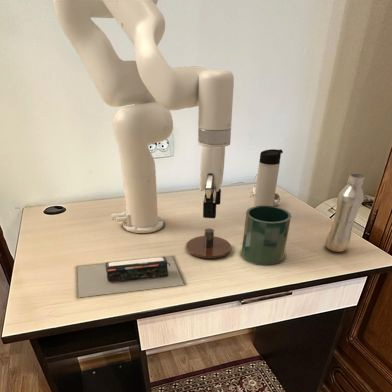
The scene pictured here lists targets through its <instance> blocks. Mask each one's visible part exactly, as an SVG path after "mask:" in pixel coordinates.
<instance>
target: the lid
mask: <svg viewBox="0 0 392 392" xmlns="http://www.w3.org/2000/svg"><path fill="white" fill-rule="evenodd" d="M185 247H186V251H187V252H188V253H189V254H190V255H193V256H195V257H198V258H201V259H202V258H203V259H216V258H217V259H218V258H222V257H224V256H226V255H228V254H229V253H230V252H231V251H232V245H231V243H230V242H229V241H228V240H226V239H224V238H222V237H219V236H215V229H213V228H211V227H210V228H209V227H208V228H205V229H204V234H203V235H201V236H196V237H193V238H191V239H189V240H188V241H187V242H186V244H185Z"/></svg>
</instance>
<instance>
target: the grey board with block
mask: <svg viewBox="0 0 392 392" xmlns="http://www.w3.org/2000/svg"><path fill="white" fill-rule="evenodd" d="M184 285H185V284H184V282H183V279H182V277H181V275H180V272H179V270H178V267H177V265H176V263H175V260H174V258H173V256H169V257H166V256H156V257H154V256H153V257H144V258H136V259H126V260H115V261H108V262H105V263H101V264H91V265H83V266H82V265H81V266H77V289H78V290H77V292H78V293H77V294H78V298H86V297H93V296H101V295H102V296H103V295H110V294H111V295H112V294H119V293H128V292H135V291H136V292H137V291H145V290H151V289H161V288H162V289H163V288H168V287H169V288H170V287H178V286H184Z"/></svg>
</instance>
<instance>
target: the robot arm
mask: <svg viewBox="0 0 392 392" xmlns="http://www.w3.org/2000/svg"><path fill="white" fill-rule="evenodd" d="M158 2H159V0H52V4H53V9H54V12H55V15H56V18H57V21H58V23H59V26H60V28H61V29H62V31H63V33H64V35H65V37H66V38H67V40H68V41H69V42H70V44H71V45H72V47H73V48H74V50H75V51H76V54H77V55H78V56H79V58H80V59H81V61H82V63H83V65H84V68H85V69H86V71H87V73H88V75H89V77H90V79H91V80H92V82H93V84H94V86H95V88H96V90H97V93H98V94H99V95H100V97H101V100H103V102H104V103H105V104H106V105H107V106H109V107H113V108H119V107H122V108H121V109H119V110H118V111H117V112H116V113H115V115H114V117H113V120H112V130H113V133H114V137H115V141H116V144H117V148H118V153H119V159H120V166H121V174H122V182H123V183H122V184H123V191H124V192H123V193H124V201H125V208H124V211H122V212H119V213H118V212H113V213H112V212H111V218H112V221H116V222H117V223H122V227H123V228H124V230H126V231H128V232H130V233H133V234H134V233H135V234H149V233H153V232H154V233H155V232H157V231H159V230H160V229H162V228H163V226H164V220H163V219H162V217H160V216H159V212H158V211H159V210H158V209H159V208H158V192H157V171H156V163H155V159H154V157H153V154H152V152H151V150H150V148H149V146H150V145H154V144H157V143H160V142H164V141H166V140H167V139H169V138H170V136H171V135H172V133H173V130H174V120H173V116H172V113H171V111H179V110H183V109H191V108H195V107H196V108H197V107H198V120H197V121H198V122H197V123H198V125H197V127H198V131H197V133H198V134H197V144H198V145H199V146H201V153H200V165H199V166H200V167H199V191H200V192H204V194H203V202H202V217H203V219H216V217H217V205H218V206H219V205H221V199H222V198H221V196H222V195H221V194H222V189H221V186H222V184H223V179H224V173H225V172H224V171H225V158H226V157H225V156H226V147H228V146H230V145H231V137H232V136H231V135H232V119H233V104H234V103H233V101H234V89H235V88H234V84H235V83H234V82H235V77H234V74H233V72H232V71H230V70H229V69H222V68H221V69H219V68H218V69H215V68H213V69H212V68H211V69H209V68H205V67H203V66H196V65H193V66H177V67H176V66H175V67H172V66H171V65H170V64H169V63H168V61H167V60H166V59H165V57H164V55H162V53H161V52H160V49H159V48H158V45H159V44H160V42H161V40H162V39H163V36H164V34H165V31H166V20H165V16H164V15H163V13H162V12H161V10H160V9H159V8H158V6H157V4H158ZM92 18H95V19H96V18H97V19H114V20H115V21H116V22H117V25H119V26H120V28H121V30H123V32H124V33H125V35H126V36H127V38H128V39H129V41H130V43H132V46H134V48H135V50H134V56H135V60H131V59H130V60H123V59H121V58H120V57H119V55H118V54H117V52H116V50H115V48H114V47H113V45H112V42H111V40H110V38H109V37H108V36H107V34H106V33H105V32H104V30H102V29H101V27H99V26H98V24H96V23H95V22H94V21H93V19H92Z"/></svg>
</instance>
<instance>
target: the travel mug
mask: <svg viewBox="0 0 392 392" xmlns="http://www.w3.org/2000/svg"><path fill="white" fill-rule="evenodd" d="M283 153H284V151H283V149H280V148H279V149H275V148H274V149H273V148H271V149H265V150H262V151H260V153H259V154H260V155H259V161H258V168H257V174H256V175H257V177H256V183H255V186H256V191H255V195H254V200H253V207H255V206H273V203H274V197H275V193H276V190H277V183H278V179H279V178H278V177H279V171H280V165H281V156H282V154H283Z"/></svg>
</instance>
